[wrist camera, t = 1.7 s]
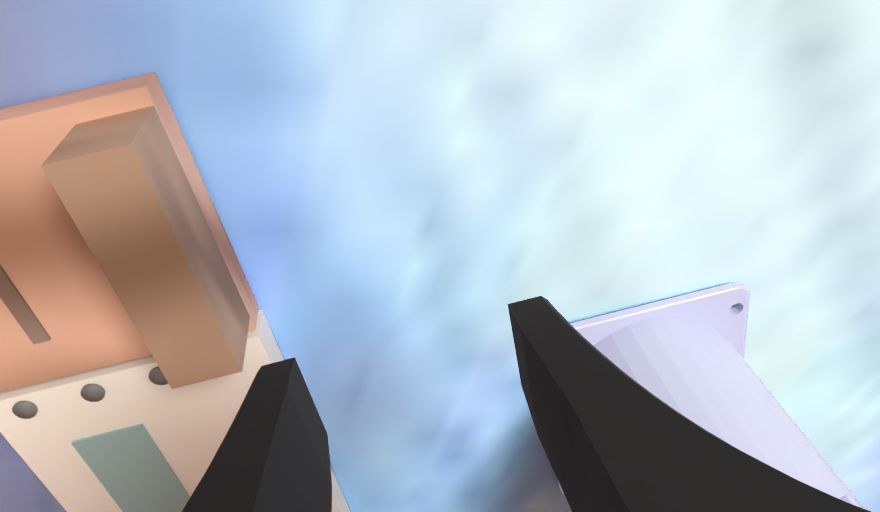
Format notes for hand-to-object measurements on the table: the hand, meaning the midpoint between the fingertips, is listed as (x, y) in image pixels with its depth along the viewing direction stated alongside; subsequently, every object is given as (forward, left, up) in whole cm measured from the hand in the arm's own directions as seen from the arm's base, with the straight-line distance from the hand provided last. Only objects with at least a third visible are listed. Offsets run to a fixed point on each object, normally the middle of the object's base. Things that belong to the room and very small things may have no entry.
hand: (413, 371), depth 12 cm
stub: (0, +9, -9) cm, 13 cm away
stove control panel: (-10, +9, -9) cm, 17 cm away
